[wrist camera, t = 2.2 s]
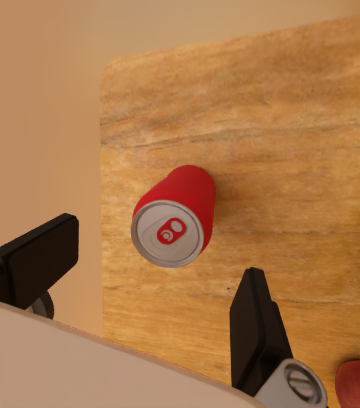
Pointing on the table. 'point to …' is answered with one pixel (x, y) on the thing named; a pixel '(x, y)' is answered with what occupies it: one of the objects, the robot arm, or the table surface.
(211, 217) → the beverage can
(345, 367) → the apple
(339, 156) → the table surface
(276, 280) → the table surface
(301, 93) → the table surface
